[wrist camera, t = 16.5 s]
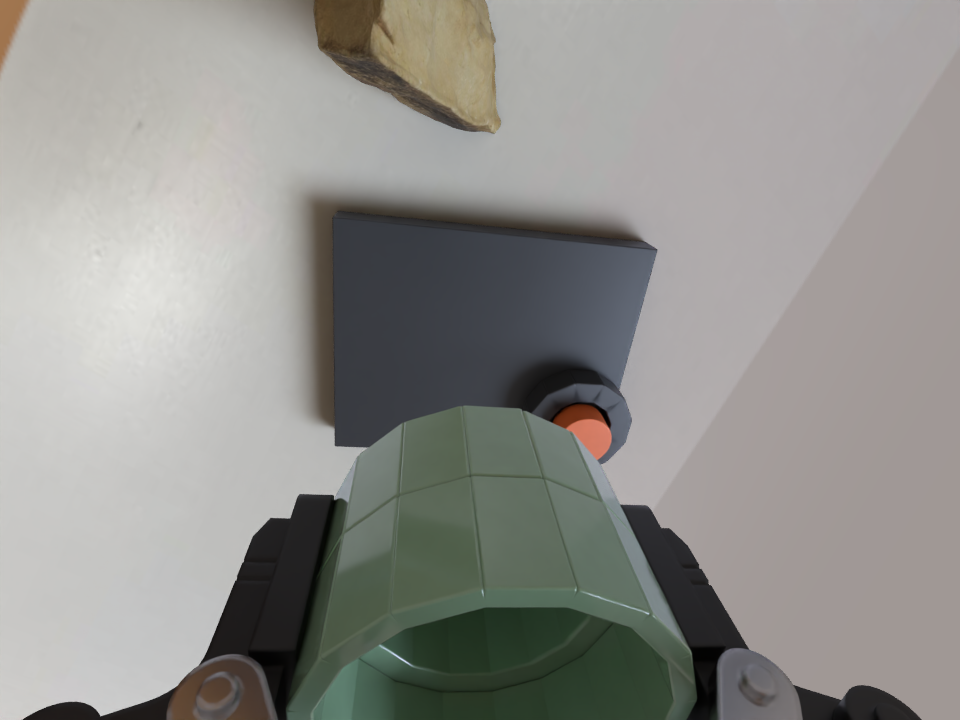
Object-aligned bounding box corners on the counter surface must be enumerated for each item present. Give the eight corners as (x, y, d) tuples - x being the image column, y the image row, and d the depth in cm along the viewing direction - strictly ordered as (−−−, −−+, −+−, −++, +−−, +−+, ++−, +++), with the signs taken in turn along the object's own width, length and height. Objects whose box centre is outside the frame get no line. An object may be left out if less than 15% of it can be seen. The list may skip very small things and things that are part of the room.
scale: (653, 242, 27) (680, 258, 24) (600, 442, 33) (616, 474, 30) (337, 210, 25) (326, 224, 22) (339, 430, 31) (330, 464, 28)
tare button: (608, 404, 28) (617, 420, 27) (596, 448, 29) (604, 465, 28) (555, 401, 28) (562, 417, 26) (546, 446, 29) (552, 463, 28)
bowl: (628, 401, 11) (756, 589, 7) (571, 596, 14) (637, 818, 10) (338, 384, 11) (274, 586, 6) (338, 595, 13) (294, 839, 9)
